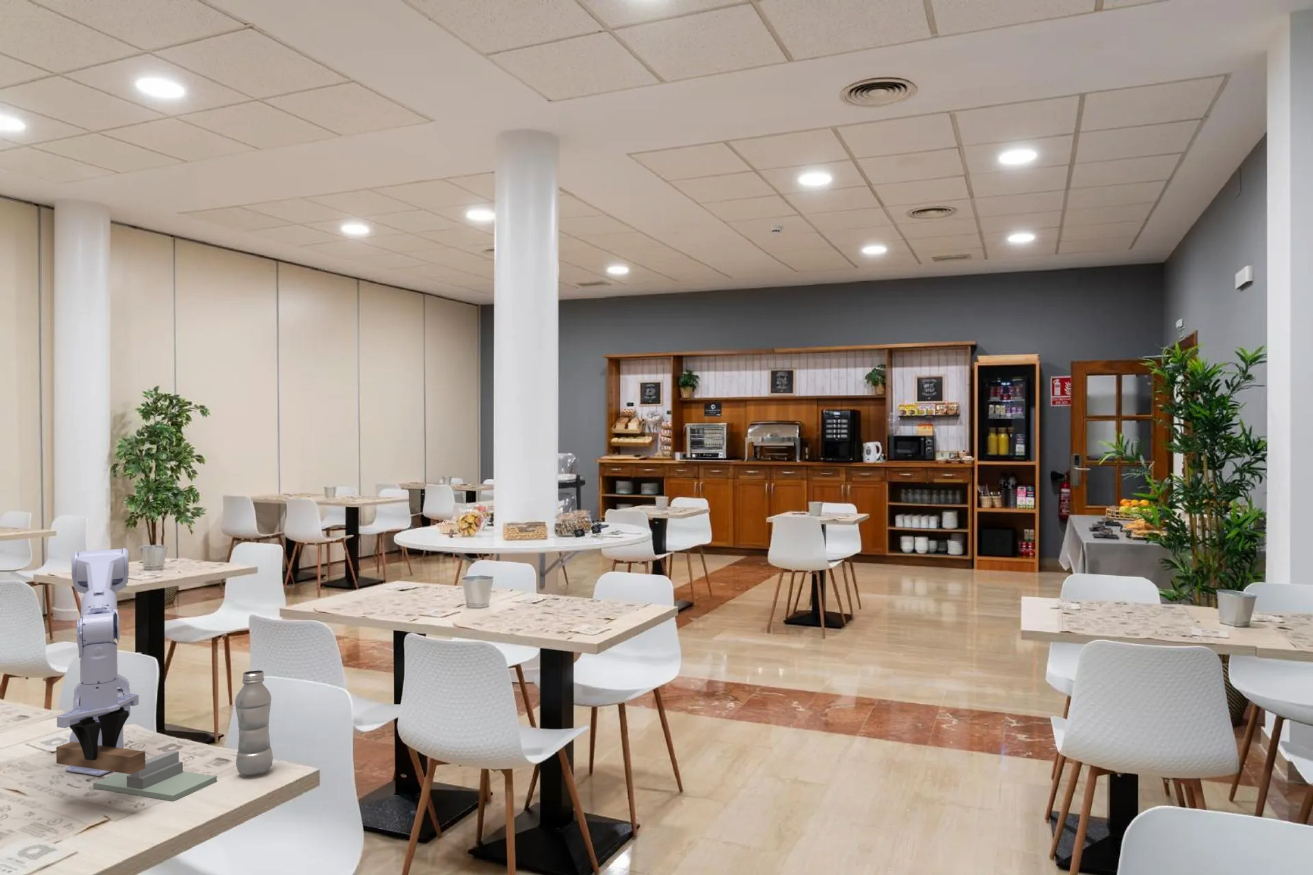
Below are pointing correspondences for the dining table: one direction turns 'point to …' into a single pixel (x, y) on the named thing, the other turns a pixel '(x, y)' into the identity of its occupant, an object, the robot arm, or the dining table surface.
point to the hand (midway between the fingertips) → (99, 755)
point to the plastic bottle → (253, 725)
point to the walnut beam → (102, 758)
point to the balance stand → (158, 779)
